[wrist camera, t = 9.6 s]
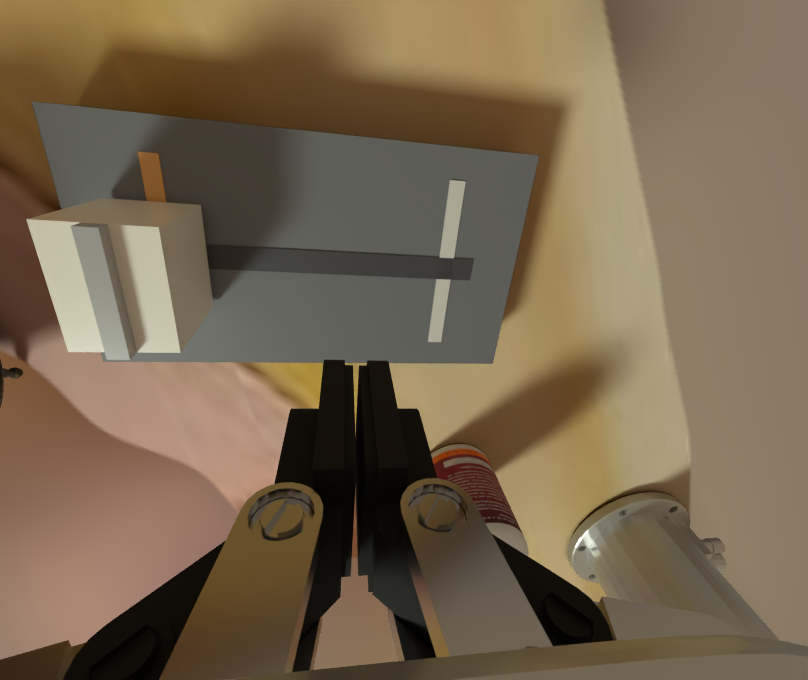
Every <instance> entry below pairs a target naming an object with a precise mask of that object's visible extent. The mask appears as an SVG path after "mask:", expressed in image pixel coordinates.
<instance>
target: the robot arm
mask: <svg viewBox="0 0 808 680" xmlns="http://www.w3.org/2000/svg"><path fill="white" fill-rule="evenodd" d="M355 484H356V515H357V549H358V575H359V576H362V575H368V590H369V592H373V595H374V596H375V597H376V598H377V599H379V600H380V601H381V602H382V603H383V604H384V605H385V606H387V607H388V609H387V610H388V621H389V625H390V630H391V634H392V638H393V642H394V646H395V651H396V655H397V659H398V662H388V663H379V664H369V665H358V666H348V667H339V668H329V669H320V670H313V669H314V664H315V658H316V653H317V648H318V643H319V638H320V633H321V627H322V616H323V614H324V613H325V612H326V611H327V610H328V609H329V608H330V607H331V606H332V605H333V604H334V603H335V602H336V601H337V600H338V599H339V598H340V591H341V577H347V576H350V574H351V558H352V539H353V521H354V502H355ZM689 525H690V518H689V514H688V512H687V510H686V509H685V507H684V506H683V505H682V504H681V503H680V502H679V501H678V500H677V499H675V498H674V497H672V496H670V495H667V494H664V493H657V492H645V493H638V494H633V495H629V496H626V497H623V498H620V499H617V500H615V501H613V502H611V503H609V504H607V505H605V506H603V507H602V508H600V509H599V510H597V511H596V512H594V513H593V514H592V515H590V516H589V517H588V518H587V519H586V520H585V521H584V522H583V523H582V524H581V525H580V526H579V527H578V529H577V530H576V531H575V533H574V534H573V536H572V538H571V540H570V542H569V546H568V550H567V552H568V559H569V562H570V564H571V566H572V568H573V569H574V571H575V572H576V574H577V575H579V576H580V577H581V578H583V579H585V580H587V581H591V582H596V583H599V584H600V585H601V587H602V589H603V590H604V592H605V594H606V596H607V597H602V598H601V600H600V602H594V601H592V600H591V598H589V597H588V596H587V595H586V594H584V593H583V592H582V591H581V590H579V589H578V588H577V587H575V586H573V585H572V584H570V583H569V582H567V581H566V580H564V579H562V578H561V577H559V576H558V575H556V574H555V573H553V572H551V571H550V570H548V569H547V568H545V567H544V566H542V565H540V564H539V563H537V562H536V561H534V560H533V559H531V558H529V557H528V556H526V555H525V554H523V553H522V552H520V551H518V550H517V549H515V548H514V547H512V546H511V545H509V544H507V543H506V542H504V541H503V540H501V539H500V538H498V537H496V536H495V535H493V534H492V533H491V532H490V530H489V528H488V527H487V525H486V523H485V521H484V519H483V518H482V516H481V514H480V512H479V510H478V508H477V507H476V505H475V503H474V501H473V500H472V498H471V497H470V496H469V494H468V493H467V492H466V491H465V490H463V489H462V488H461V487H460V486H458V485H456V484H454V483H452V482H450V481H448V480H443V479H438V478H437V474H436V471H435V467H434V464H433V460H432V456H431V453H430V449H429V446H428V442H427V438H426V435H425V431H424V428H423V424H422V420H421V417H420V413H419V411H418V409H398V408H397V403H396V398H395V393H394V388H393V383H392V378H391V373H390V368H389V363H388V361H377V360H367V366H359V378H358V397H357V417H356V437H355V414H354V384H353V365H345V360H324V364H323V374H322V383H321V393H320V403H319V409H291V410H290V413H289V418H288V423H287V427H286V432H285V437H284V441H283V446H282V451H281V456H280V460H279V465H278V470H277V475H276V479H275V484H274V485H270V486H267V487H265V488H263V489H261V490H259V491H257V492H256V493H255V494H254V495H253V496H251V497H250V498H249V499H248V500H247V501H246V503H245V504H244V506H243V507H242V508H241V510H240V512H239V514H238V516H237V519H236V521H235V523H234V525H233V527H232V529H231V531H230V533H229V535H228V537H227V539H226V541H224V542H223V543H222V544H220V545H219V546H217V547H216V548H215V549H213V550H212V551H210V552H209V553H207V554H206V555H205V556H203V557H202V558H200V559H199V560H198V561H196V562H195V563H193V564H192V565H191V566H189V567H188V568H186V569H185V570H183V571H182V572H180V573H179V574H178V575H176V576H175V577H173V578H172V579H170V580H169V581H168V582H166V583H165V584H163V585H162V586H161V587H159V588H158V589H156V590H155V591H154V592H152V593H151V594H149V595H148V596H146V597H145V598H144V599H142V600H141V601H139V602H138V603H136V604H135V605H134V606H132V607H131V608H129V609H128V610H127V611H125V612H124V613H122V614H121V615H119V616H118V617H117V618H115V619H114V620H112V621H111V622H110V623H108V624H107V625H105V626H104V627H103V628H102V629H101V630H99V631H98V632H97V633H96V634H95V635H94V636H92V637H91V638H90V639H89V640H88V641H87V642H86V643H83V644H79V645H76V646H73V647H71V645H70V643H69V641H68V640H67V641H64V642H60V643H57V644H53V645H50V646H46V647H43V648H39V649H36V650H33V651H29V652H25V653H22V654H18V655H15V656H12V657H8V658H5V659H1V660H0V680H808V646H805V645H799V644H795V643H790V642H785V641H780V640H779V639H778V638H777V637H776V635H775V634H774V633H773V632H772V631H771V630H770V629H769V628H768V626H767V625H766V624H765V623H764V622H763V621H762V620H761V618H760V617H759V616H758V615H757V614H756V613H755V612H754V610H753V609H752V608H751V607H750V606H749V605H748V604H747V602H745V600H744V599H743V598H742V597H741V596H740V595H739V593H738V592H737V591H736V590H735V589H734V588H733V587H732V585H731V584H730V583H729V582H728V581H727V580H726V579H725V578H724V576H723V575H722V574H721V573H720V572H721V571H724V570H725V569H726V562H725V559H724V557H723V556H722V555H721V554H720V553H723V552H724V550H725V546H724V544H723V542H722V541H721V540H720V539H718V538H706V539H703V540H700V539H699V538H698V537H697V536H696V535H695V534H694V532H693V531H692V530H691V529H690V528H689Z"/></svg>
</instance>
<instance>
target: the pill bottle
mask: <svg viewBox="0 0 808 680" xmlns="http://www.w3.org/2000/svg"><path fill="white" fill-rule="evenodd" d="M431 456H432V460H433V464H434V467H435V471H436V474H437V478H438V479H443V480H448V481H450V482H452V483H454V484H456V485H458V486H460V487H461V488H462V489H463V490H465V491H466V492H467V493H468V494H469V496H470V497H471V498H472V500H473V501H474V503H475V505H476V507H477V508H478V510H479V512H480V514H481V516H482V518H483V519H484V521H485V523H486V525H487V527H488V528H489V530H490V532H491V533H492V534H493V535H495V536H496V537H498V538H500V539H501V540H503V541H504V542H506V543H507V544H509V545H511V546H512V547H514V548H515V549H517V550H518V551H520V552H522V553H523V554H525V555H526V556H528V547H527V543H526V541H525V538H524V536H523V534H522V531H521V530H520V527H519V525H518V523H517V521H516V519H515V516H514V514H513V512H512V510H511V508H510V506H509V503H508V501H507V499H506V497H505V495H504V493H503V490H502V488H501V486H500V484H499V482H498V479H497V477H496V475H495V473H494V471H493V469H492V466H491V464H490V462H489V461H488V459H487V457H486V456H485V454H484V453H483V452H482V451H480V450H479V449H477V448H475V447H473V446H470V445H465V444H455V445H449V446H445V447H443V448H440V449H438V450H436V451H434V452H433V453H431Z"/></svg>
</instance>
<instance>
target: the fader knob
mask: <svg viewBox="0 0 808 680" xmlns="http://www.w3.org/2000/svg"><path fill="white" fill-rule="evenodd" d="M26 220H27V223H28V226H29V229H30V233H31V236H32V239H33V242H34V245H35V248H36V252H37V255H38V258H39V261H40V264H41V267H42V270H43V274H44V277H45V280H46V283H47V286H48V289H49V293H50V296H51V299H52V302H53V305H54V308H55V311H56V315H57V318H58V321H59V324H60V327H61V330H62V334H63V337H64V340H65V343H66V346H67V349H68V352H105V355H106V359H107V360H131V358H132V357H133V356H134V355H135V354H136V353H181V352H182V350H183V349H184V347H185V346H186V344H187V343H188V342H189V340H190V339H191V337H192V336H193V335H194V333H195V332H196V330H197V329H198V327H199V326H200V325H201V323H202V322H203V320H204V319H205V317H206V316H207V315H208V313H209V312H210V310H211V309H212V308H213V298H212V290H211V282H210V274H209V266H208V258H207V250H206V242H205V234H204V226H203V219H202V211H201V205H195V204H181V203H167V202H153V201H139V200H125V199H111V198H101V199H98V200H94V201H90V202H87V203H83V204H79V205H76V206H72V207H69V208H65V209H61V210H58V211H54V212H50V213H47V214H43V215H39V216H36V217H32V218H29V219H26Z"/></svg>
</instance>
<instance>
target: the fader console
mask: <svg viewBox="0 0 808 680" xmlns="http://www.w3.org/2000/svg"><path fill="white" fill-rule="evenodd" d="M32 105H33V108H34V112H35V116H36V119H37V123H38V126H39V130H40V134H41V137H42V141H43V145H44V148H45V152H46V155H47V159H48V163H49V166H50V170H51V174H52V177H53V181H54V184H55V188H56V192H57V195H58V199H59V203H60V206H61V209H65V208H69V207H72V206H76V205H79V204H83V203H87V202H90V201H94V200H98V199H101V198H111V199H125V200H139V201H153V202H167V203H181V204H195V205H201V211H202V219H203V226H204V234H205V242H206V250H207V258H208V266H209V274H210V282H211V290H212V298H213V308H212V309H211V310H210V312H209V313H208V315H207V316H206V317H205V319H204V320H203V322H202V323H201V325H200V326H199V327H198V329H197V330H196V332H195V333H194V335H193V336H192V337H191V339H190V340H189V342H188V343H187V344H186V346H185V347H184V349H183V350H182V352H181V353H136V354H135V355H134V356H133V357H132V358H131V360H107V359H106V355H105V352H101V355H102V358H103V361H106V362H294V363H324V360H345V363H367V360H377V361H388V363H481V364H493V360H494V355H495V351H496V346H497V342H498V337H499V333H500V328H501V324H502V319H503V315H504V311H505V306H506V302H507V297H508V293H509V288H510V284H511V279H512V275H513V270H514V266H515V261H516V257H517V252H518V248H519V244H520V239H521V235H522V230H523V226H524V221H525V217H526V212H527V208H528V203H529V199H530V194H531V190H532V186H533V181H534V177H535V172H536V168H537V163H538V159H539V155H529V154H520V153H511V152H501V151H492V150H483V149H473V148H464V147H455V146H445V145H436V144H427V143H417V142H408V141H399V140H389V139H380V138H371V137H361V136H352V135H343V134H333V133H324V132H315V131H305V130H296V129H287V128H278V127H268V126H259V125H250V124H240V123H231V122H222V121H212V120H203V119H194V118H184V117H175V116H166V115H156V114H147V113H138V112H128V111H119V110H110V109H100V108H91V107H82V106H72V105H63V104H54V103H44V102H35V101H32Z"/></svg>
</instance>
